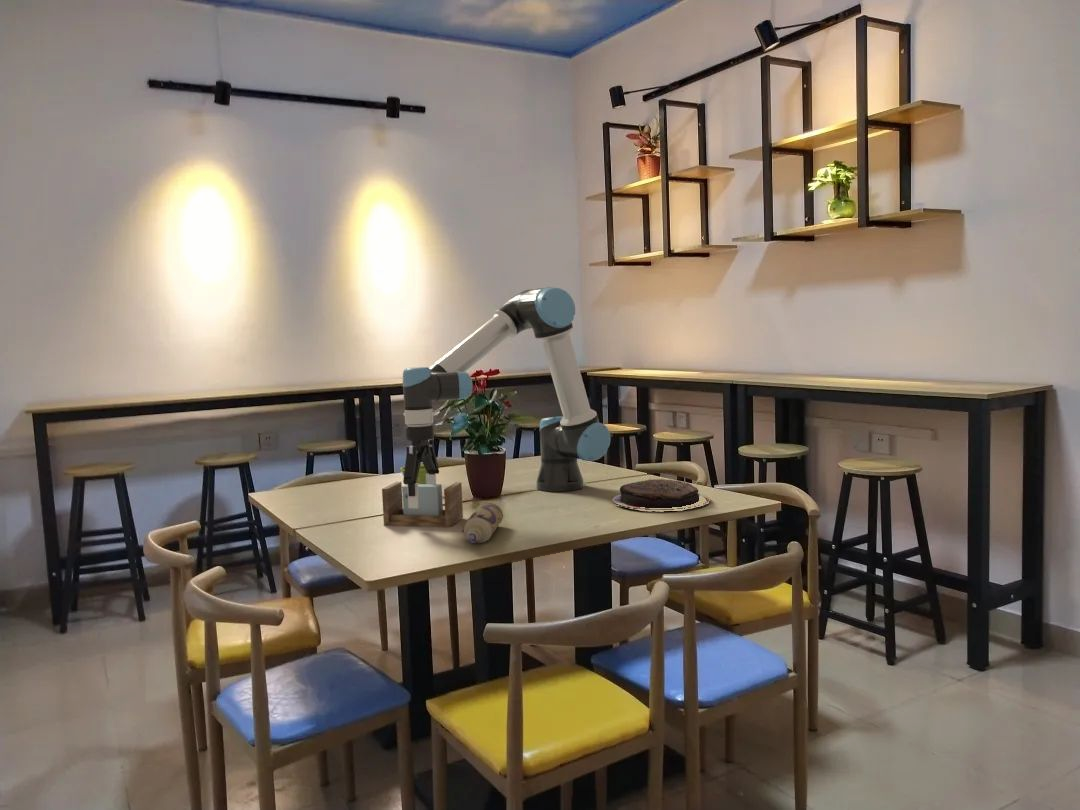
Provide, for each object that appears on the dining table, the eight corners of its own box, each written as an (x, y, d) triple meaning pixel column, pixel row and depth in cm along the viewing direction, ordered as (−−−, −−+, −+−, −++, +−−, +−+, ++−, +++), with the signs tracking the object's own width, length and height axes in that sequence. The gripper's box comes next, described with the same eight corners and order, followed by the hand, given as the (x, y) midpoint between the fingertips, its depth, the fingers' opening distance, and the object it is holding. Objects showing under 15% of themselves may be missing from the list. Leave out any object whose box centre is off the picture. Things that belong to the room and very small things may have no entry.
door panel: (443, 517, 229) (441, 484, 228) (437, 520, 225) (436, 487, 224) (408, 516, 231) (407, 484, 230) (402, 520, 227) (401, 487, 226)
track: (463, 518, 231) (461, 482, 230) (451, 526, 221) (449, 489, 220) (398, 517, 235) (396, 481, 234) (383, 525, 226) (381, 488, 225)
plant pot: (434, 491, 272) (433, 464, 271) (427, 497, 263) (426, 469, 262) (406, 491, 273) (404, 465, 272) (398, 497, 264) (396, 470, 263)
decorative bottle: (475, 526, 221) (475, 501, 221) (504, 526, 220) (503, 501, 220) (453, 552, 196) (452, 524, 195) (485, 553, 195) (484, 524, 194)
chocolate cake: (730, 502, 240) (730, 480, 240) (663, 519, 223) (663, 494, 222) (658, 490, 262) (658, 469, 262) (592, 504, 245) (591, 482, 244)
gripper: (422, 419, 239) (426, 493, 241) (387, 430, 215) (392, 512, 217) (447, 419, 237) (451, 493, 239) (415, 430, 213) (419, 512, 215)
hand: (423, 502), depth 228 cm, fingers open, 13 cm apart
